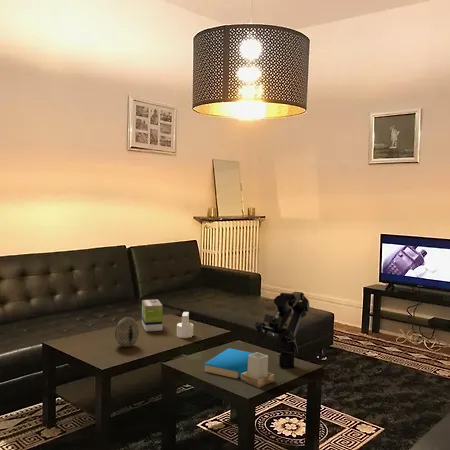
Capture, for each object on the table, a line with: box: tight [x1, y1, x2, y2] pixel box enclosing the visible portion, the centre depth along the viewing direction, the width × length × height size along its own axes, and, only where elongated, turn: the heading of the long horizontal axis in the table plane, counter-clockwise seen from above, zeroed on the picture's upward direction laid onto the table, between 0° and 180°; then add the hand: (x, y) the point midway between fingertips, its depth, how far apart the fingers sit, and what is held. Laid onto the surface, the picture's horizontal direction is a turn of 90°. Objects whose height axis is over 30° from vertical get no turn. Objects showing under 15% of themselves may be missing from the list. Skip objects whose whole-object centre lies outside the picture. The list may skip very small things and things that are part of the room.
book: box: [203, 348, 255, 379], centre depth 224 cm, size 17×4×25 cm
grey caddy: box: [247, 351, 269, 380], centre depth 207 cm, size 6×6×10 cm
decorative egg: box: [114, 316, 140, 348], centre depth 246 cm, size 12×12×15 cm
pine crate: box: [240, 371, 275, 388], centre depth 208 cm, size 10×10×3 cm
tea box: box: [141, 299, 164, 332], centre depth 282 cm, size 15×10×15 cm
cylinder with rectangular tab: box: [176, 311, 194, 339], centre depth 268 cm, size 9×9×12 cm
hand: (264, 347), depth 210 cm, fingers open, 9 cm apart
